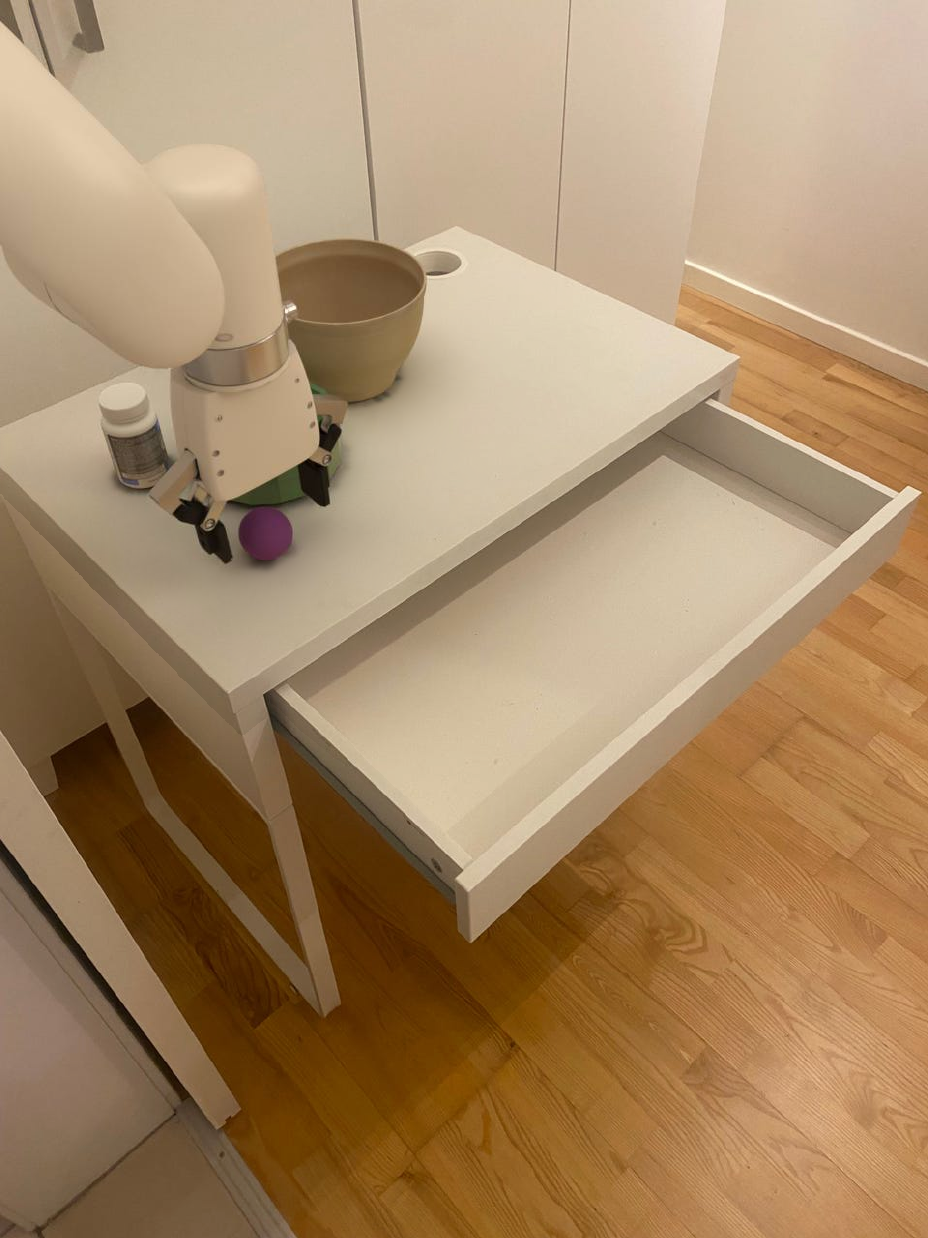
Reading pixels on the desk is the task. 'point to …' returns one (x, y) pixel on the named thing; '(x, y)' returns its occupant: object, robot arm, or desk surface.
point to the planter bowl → (352, 311)
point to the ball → (265, 533)
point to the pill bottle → (133, 435)
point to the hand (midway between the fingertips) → (268, 524)
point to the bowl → (287, 477)
